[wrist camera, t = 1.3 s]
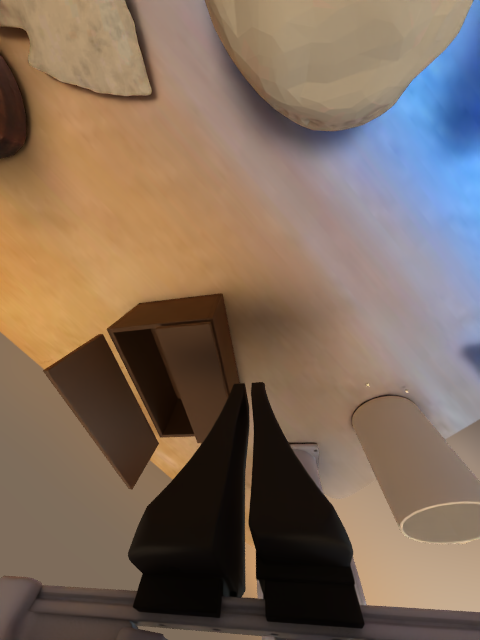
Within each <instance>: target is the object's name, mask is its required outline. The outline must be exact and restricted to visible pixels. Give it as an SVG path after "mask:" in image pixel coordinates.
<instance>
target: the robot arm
mask: <svg viewBox="0 0 480 640" xmlns="http://www.w3.org/2000/svg"><path fill="white" fill-rule="evenodd" d="M251 397H252V409H253V421H254V447H253V468H252V485H251V499H250V512H249V527H250V531H251V534H252V538H253V541H254V545H255V548H256V579H257V593H258V599H255V598H241V597H242V595H243V594H244V592H245V468H246V457H247V446H248V436H249V404H248V398H247V393H246V387H245V383H240V384H234V385H233V387H232V389H231V392H230V394H229V397H228V399H227V401H226V403H225V405H224V407H223V409H222V411H221V413H220V415H219V417H218V419H217V420H216V422H215V424H214V425H213V427H212V429H211V431H210V432H209V434H208V435H207V437H206V438H205V440H204V441H203V443H202V444H201V446H200V447H199V448H198V450H197V451H196V452H195V454H194V455H193V456H192V458H191V459H190V460H189V462H188V463H187V464H186V465H185V466H184V468H183V469H182V470H181V471H180V472H179V473H178V475H177V476H176V477H175V478H174V479H173V480H172V482H171V483H170V484H169V485H168V486H167V487H166V488H165V489H164V490H163V491H162V492H161V493H160V494H159V495H158V496H157V497H156V498H155V499H154V500H153V501H152V502H151V503H150V504H149V505H148V506H147V508H146V510H145V512H144V514H143V516H142V518H141V521H140V523H139V525H138V528H137V530H136V533H135V536H134V538H133V541H132V544H131V546H130V549H129V552H128V557H129V560H130V561H131V562H132V563H133V564H134V565H135V566H136V567H137V568H138V569H139V570H140V571H141V572H142V573H143V575H142V578H141V581H140V584H139V588H138V591H128V590H111V589H96V588H80V587H63V586H48V585H42V583H41V582H39V581H38V580H35V579H33V578H28V577H16V576H3V577H1V578H0V640H167V639H166V638H165V637H164V636H163V634H160V633H155V632H150V631H145V630H140V629H138V627H137V626H149V627H160V628H172V629H184V630H196V631H208V632H219V633H231V634H243V635H255V636H262V640H480V612H466V611H450V610H434V609H418V608H402V607H386V606H369V605H366V601H365V597H364V594H363V590H362V586H361V583H360V579H359V576H358V572H357V569H356V566H355V562H354V559H353V549H352V545H351V542H350V540H349V537H348V535H347V533H346V530H345V528H344V526H343V525H342V522H341V520H340V518H339V517H338V515H337V513H336V511H335V509H334V507H333V506H332V504H331V503H330V502H329V501H328V500H327V498H326V497H325V495H324V494H323V490H322V485H321V481H320V477H319V473H318V459H319V446H318V445H317V444H289V443H288V441H287V439H286V437H285V436H284V434H283V432H282V430H281V428H280V426H279V424H278V422H277V420H276V418H275V415H274V413H273V411H272V408H271V406H270V403H269V400H268V397H267V394H266V390H265V383H263V382H256V383H252V388H251Z"/></svg>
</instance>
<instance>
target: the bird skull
mask: <svg viewBox="0 0 480 640" xmlns="http://www.w3.org/2000/svg"><path fill="white" fill-rule="evenodd" d="M205 2H206V5H207V8H208V11H209V14H210V17H211V20H212V23H213V25H214V28H215V30H216V32H217V34H218V36H219V38H220V39H221V41H222V43H223V45H224V47H225V49H226V50H227V52H228V54H229V56H230V57H231V59H232V60H233V62H234V63H235V65H236V66H237V68H238V69H239V70H240V72H241V73H242V74H243V76H244V77H245V78H246V80H247V81H248V82H249V83H250V85H251V86H252V87H253V88H254V89H255V90H256V92H257V93H258V94H259V95H260V96H261V97H262V98H263V99H264V100H265V101H266V102H267V103H269V104H270V105H271V106H272V107H273V108H274V109H275V110H277V111H278V112H280V113H281V114H283V115H284V116H286V117H287V118H289V119H290V120H291V121H293V122H295V123H297V124H299V125H301V126H303V127H306V128H309V129H312V130H321V131H338V130H345V129H349V128H353V127H357V126H361V125H364V124H366V123H368V122H369V121H371V120H373V119H375V118H377V117H378V116H380V115H382V114H383V113H385V112H386V111H387V110H388V109H390V108H391V107H392V106H393V105H394V104H395V103H396V101H397V100H398V99H399V97H400V96H401V95H402V93H403V92H404V91H405V89H406V88H407V87H408V85H409V84H410V83H411V81H412V80H413V79H414V78H415V77H416V76H417V75H418V74H419V73H421V72H422V71H423V70H424V69H425V68H426V67H427V66H428V65H429V64H430V63H431V62H432V61H433V60H435V59H436V58H437V57H438V56H439V55H440V54H441V53H442V52H443V51H444V50H445V49H446V48H447V47H448V45H449V44H450V43H451V42H452V41H453V39H454V38H455V37H456V36H457V34H458V33H459V31H460V29H461V27H462V24H463V22H464V20H465V18H466V16H467V13H468V11H469V9H470V7H471V4H472V2H473V0H205Z"/></svg>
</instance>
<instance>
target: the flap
mask: <svg viewBox="0 0 480 640" xmlns="http://www.w3.org/2000/svg"><path fill="white" fill-rule="evenodd" d="M43 371H44V373H45V374H46V376H47V377H48V378H49V380H50V381H51V383H52V384H53V385H54V387H55V388H56V389H57V391H58V392H59V394H60V395H61V396H62V397H63V399H64V400H65V402H66V403H67V405H68V406H69V407H70V409H71V410H72V411H73V413H74V414H75V416H76V417H77V418H78V420H79V421H80V422H81V424H82V425H83V427H85V429H86V430H87V432H88V433H89V435H90V436H91V438H92V439H93V440H94V442H95V443H96V444H97V446H98V447H99V448H100V450H101V451H102V453H103V454H104V455H105V456H106V458H107V459H108V461H109V462H110V464H111V465H112V466H113V468H114V469H115V471H116V472H117V473H118V475H119V476H120V477H121V479H122V480H123V482H124V483H125V484H126V485H127V487H128V488H129V489H133V487H134V486H135V484H136V482H137V480H138V478H139V477H140V475H141V473H142V472H143V470H144V468H145V467H146V465H147V463H148V461H149V460H150V458H151V456H152V455H153V453H154V451H155V449H156V448H157V446H158V444H159V443H158V441H157V439H156V437H155V435H154V433H153V431H152V429H151V427H150V425H149V423H148V422H147V420H146V418H145V416H144V414H143V412H142V410H141V408H140V406H139V404H138V402H137V400H136V398H135V396H134V394H133V392H132V390H131V388H130V386H129V384H128V382H127V380H126V379H125V377H124V375H123V373H122V371H121V369H120V367H119V365H118V363H117V361H116V359H115V357H114V355H113V353H112V351H111V349H110V347H109V345H108V343H107V341H106V339H105V337H104V335H103V334H99V335H97V336H96V337H94V338H92V339H91V340H89V341H88V342H86V343H85V344H83V345H82V346H80V347H79V348H77V349H76V350H74V351H72V352H71V353H69V354H68V355H66V356H65V357H63V358H62V359H60V360H59V361H57V362H56V363H54V364H52V365H51V366H49V367H48V368H46V369H45V370H43Z"/></svg>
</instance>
